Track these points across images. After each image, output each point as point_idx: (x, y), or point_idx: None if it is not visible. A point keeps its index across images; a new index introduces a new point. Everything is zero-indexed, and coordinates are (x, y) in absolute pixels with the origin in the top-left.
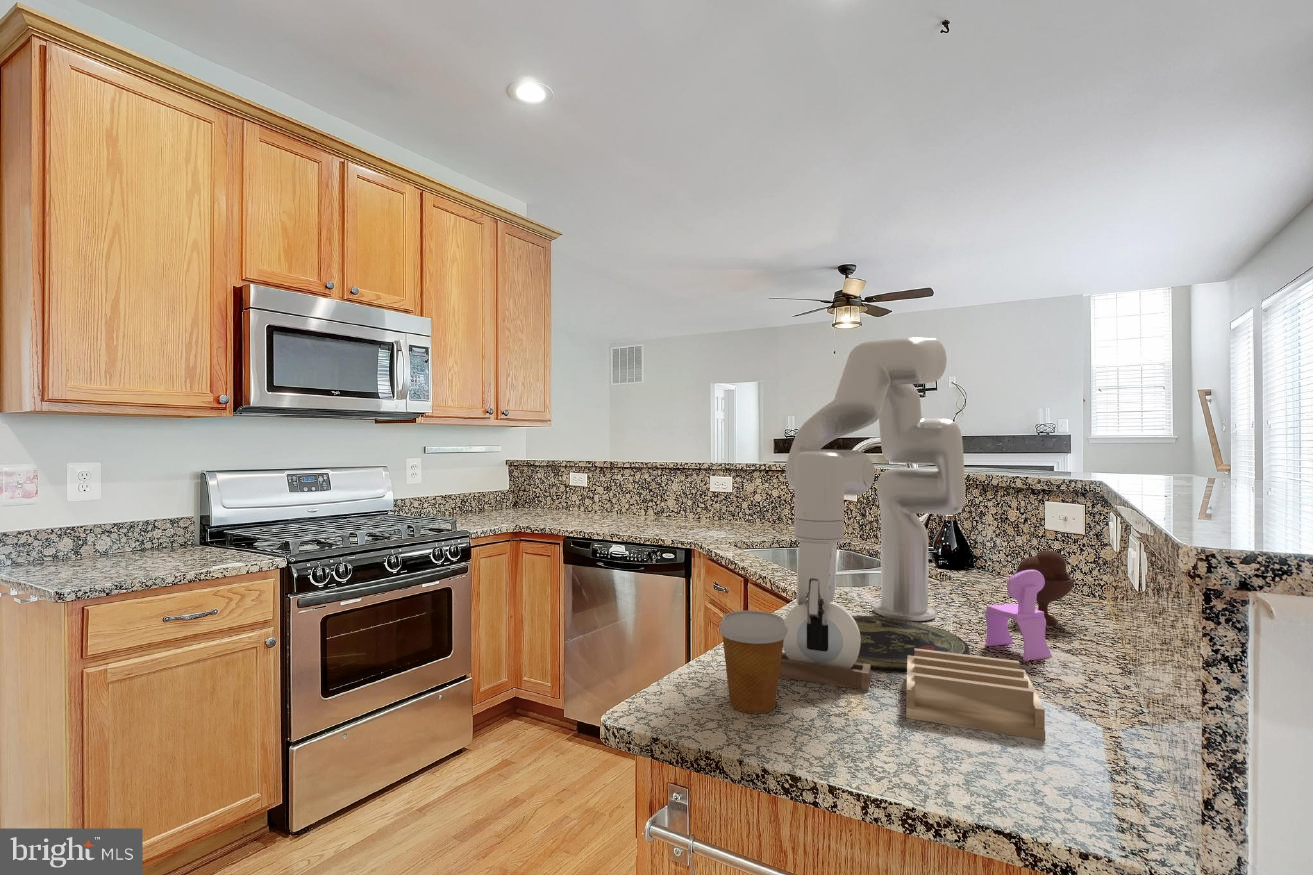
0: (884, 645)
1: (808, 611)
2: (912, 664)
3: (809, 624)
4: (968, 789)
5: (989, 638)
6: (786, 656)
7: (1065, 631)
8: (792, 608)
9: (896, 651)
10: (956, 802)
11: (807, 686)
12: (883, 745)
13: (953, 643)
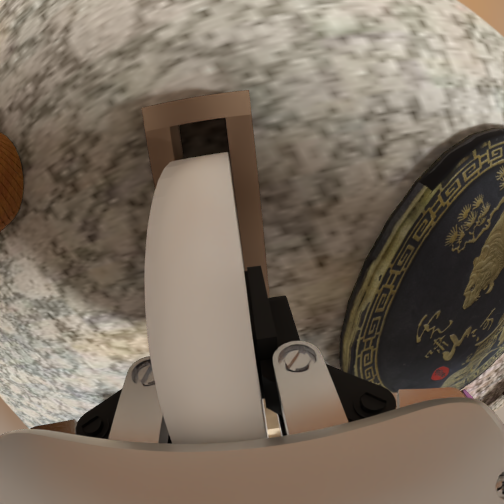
0: (451, 326)
1: (117, 424)
2: (270, 433)
3: (146, 363)
4: (42, 419)
5: (468, 396)
6: (231, 156)
7: (488, 405)
8: (222, 292)
9: (422, 351)
10: (21, 409)
11: (143, 244)
12: (41, 377)
13: (455, 385)
